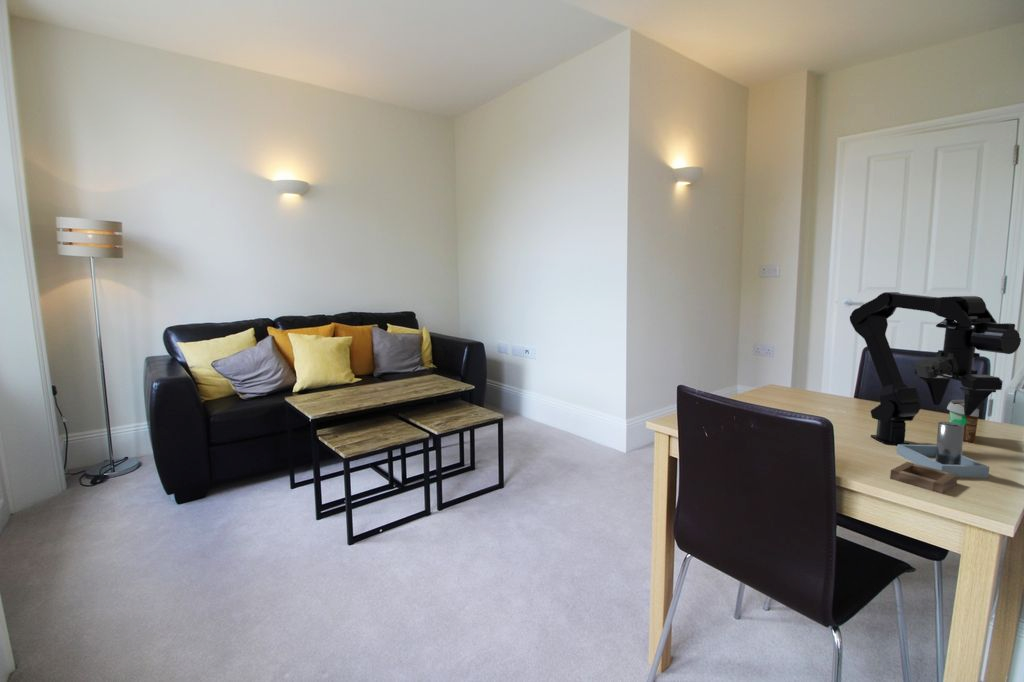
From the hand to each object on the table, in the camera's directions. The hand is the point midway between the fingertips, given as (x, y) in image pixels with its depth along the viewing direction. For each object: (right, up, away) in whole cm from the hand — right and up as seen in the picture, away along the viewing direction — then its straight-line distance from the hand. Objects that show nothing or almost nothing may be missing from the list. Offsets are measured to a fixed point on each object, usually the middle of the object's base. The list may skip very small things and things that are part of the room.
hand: (951, 410), depth 120 cm
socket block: (-18, -15, -13) cm, 27 cm away
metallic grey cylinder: (-7, -13, -7) cm, 16 cm away
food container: (+19, -11, +19) cm, 29 cm away
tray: (-6, -14, -4) cm, 16 cm away
